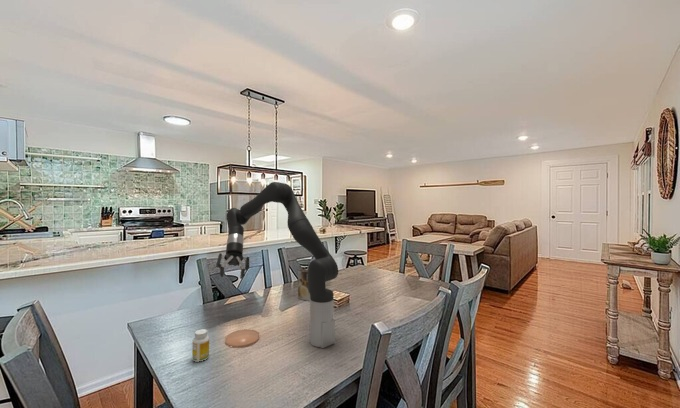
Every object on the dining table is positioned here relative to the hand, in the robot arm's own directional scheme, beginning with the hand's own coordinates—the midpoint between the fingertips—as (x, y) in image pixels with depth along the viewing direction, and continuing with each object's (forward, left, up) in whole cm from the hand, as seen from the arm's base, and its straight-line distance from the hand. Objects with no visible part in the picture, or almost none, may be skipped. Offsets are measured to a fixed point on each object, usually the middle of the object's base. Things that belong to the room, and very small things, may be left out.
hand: (232, 277), depth 135 cm
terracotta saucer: (-17, +3, -21) cm, 27 cm away
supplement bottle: (-21, +20, -21) cm, 36 cm away
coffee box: (+6, -45, -21) cm, 50 cm away
